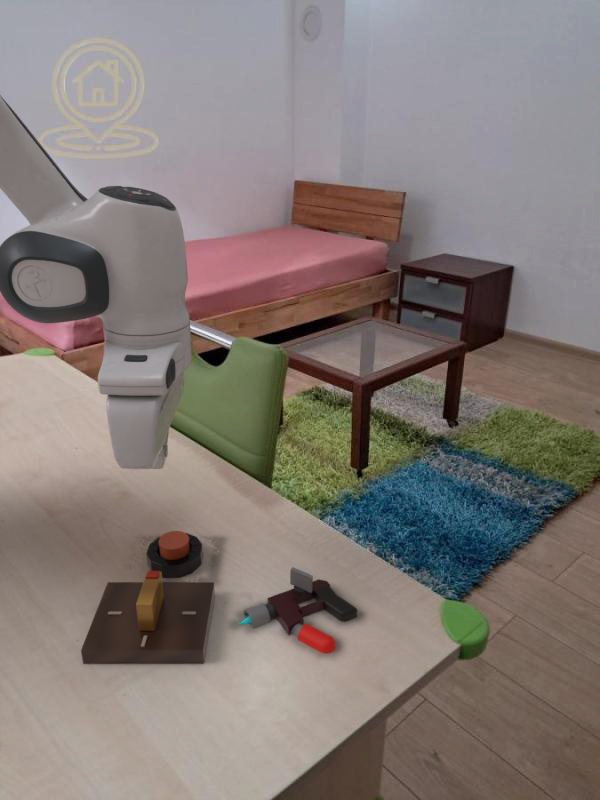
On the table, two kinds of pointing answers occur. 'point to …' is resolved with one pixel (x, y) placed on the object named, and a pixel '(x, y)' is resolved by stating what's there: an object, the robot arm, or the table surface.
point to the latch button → (174, 545)
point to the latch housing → (175, 566)
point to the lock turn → (150, 601)
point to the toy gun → (302, 610)
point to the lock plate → (174, 634)
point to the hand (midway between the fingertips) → (158, 462)
